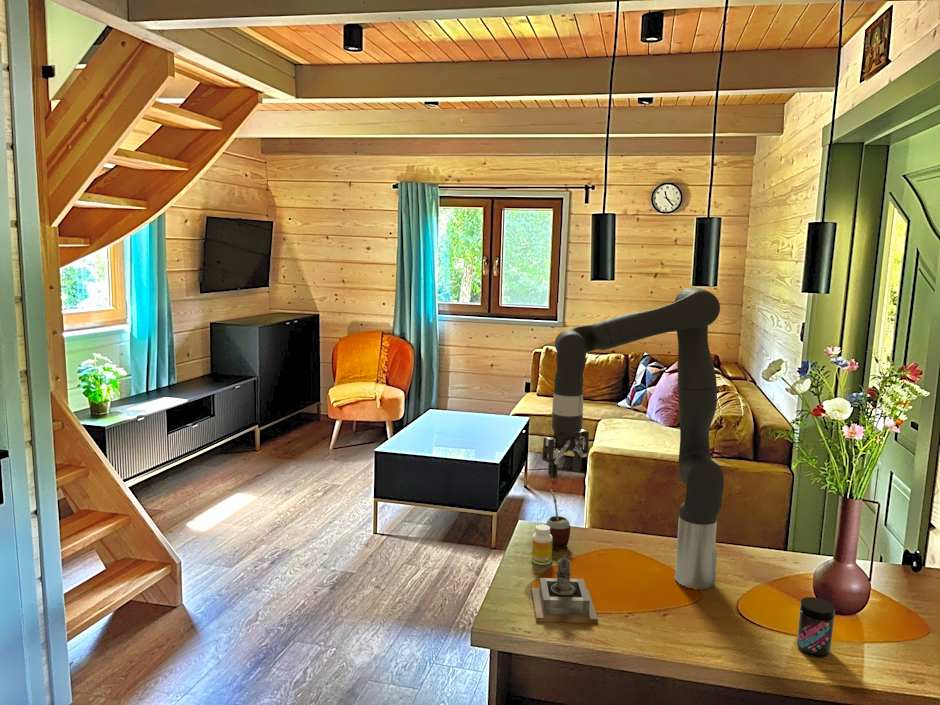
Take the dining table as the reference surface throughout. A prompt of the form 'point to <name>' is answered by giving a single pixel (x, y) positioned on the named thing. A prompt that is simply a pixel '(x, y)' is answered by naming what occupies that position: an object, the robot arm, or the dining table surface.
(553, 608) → the block
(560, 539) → the mate gourd
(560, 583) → the grey tall ringed piece
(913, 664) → the dining table surface
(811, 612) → the supplement container
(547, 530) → the supplement bottle
